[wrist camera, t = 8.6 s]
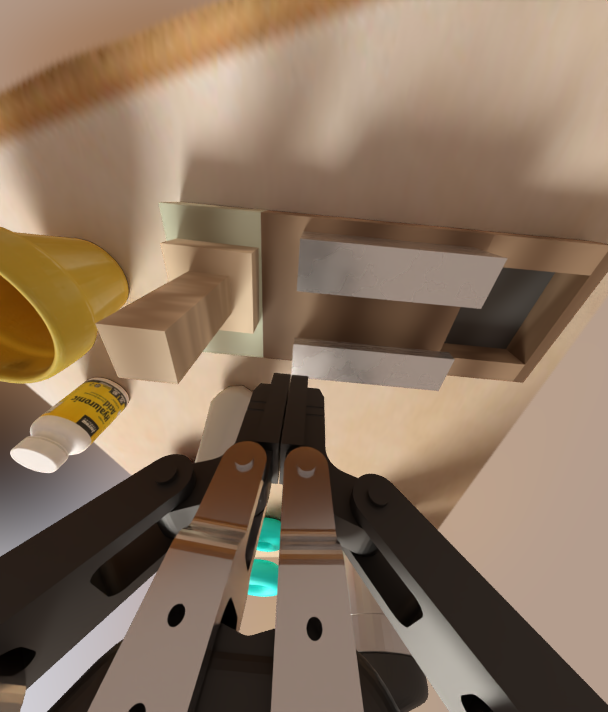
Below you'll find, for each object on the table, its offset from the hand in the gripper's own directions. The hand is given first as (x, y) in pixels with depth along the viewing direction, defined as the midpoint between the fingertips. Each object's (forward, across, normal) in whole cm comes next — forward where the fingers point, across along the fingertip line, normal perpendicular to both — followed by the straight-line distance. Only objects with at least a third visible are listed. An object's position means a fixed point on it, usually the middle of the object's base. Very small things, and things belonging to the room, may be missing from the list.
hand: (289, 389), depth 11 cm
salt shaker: (+14, +7, +14) cm, 21 cm away
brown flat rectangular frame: (+14, -6, 0) cm, 15 cm away
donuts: (+15, +4, +51) cm, 53 cm away
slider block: (+11, +7, -1) cm, 13 cm away
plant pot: (+14, +20, 0) cm, 24 cm away
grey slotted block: (+11, -6, 0) cm, 12 cm away
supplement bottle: (+14, +24, +16) cm, 32 cm away
